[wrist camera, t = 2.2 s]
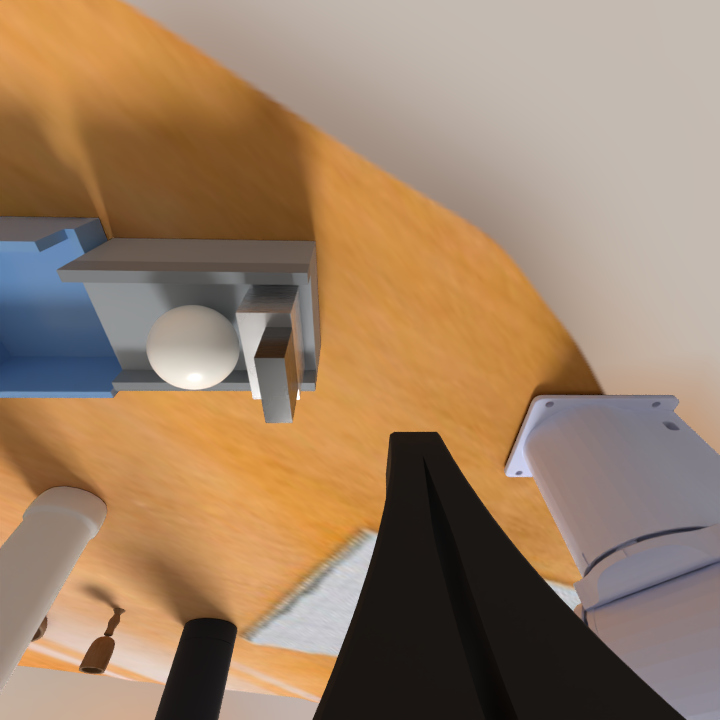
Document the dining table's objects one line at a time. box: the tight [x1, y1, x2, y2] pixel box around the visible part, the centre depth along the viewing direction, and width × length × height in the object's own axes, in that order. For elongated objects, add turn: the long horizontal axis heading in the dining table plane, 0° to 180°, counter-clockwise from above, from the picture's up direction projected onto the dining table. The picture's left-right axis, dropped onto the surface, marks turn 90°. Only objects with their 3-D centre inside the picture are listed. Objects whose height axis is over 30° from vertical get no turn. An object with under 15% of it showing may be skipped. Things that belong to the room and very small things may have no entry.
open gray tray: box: [56, 238, 321, 391], centre depth 17 cm, size 10×6×4 cm, turn 89°
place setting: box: [31, 608, 125, 674], centre depth 40 cm, size 18×20×6 cm
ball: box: [146, 305, 240, 390], centre depth 15 cm, size 4×4×4 cm
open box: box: [0, 216, 122, 398], centre depth 17 cm, size 8×8×4 cm
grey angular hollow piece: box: [236, 286, 305, 423], centre depth 14 cm, size 2×4×4 cm, turn 179°
